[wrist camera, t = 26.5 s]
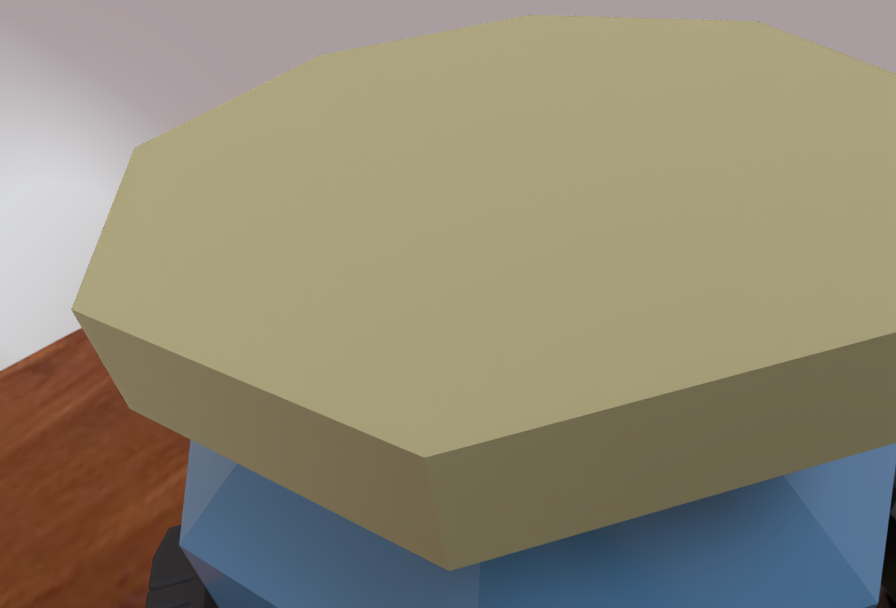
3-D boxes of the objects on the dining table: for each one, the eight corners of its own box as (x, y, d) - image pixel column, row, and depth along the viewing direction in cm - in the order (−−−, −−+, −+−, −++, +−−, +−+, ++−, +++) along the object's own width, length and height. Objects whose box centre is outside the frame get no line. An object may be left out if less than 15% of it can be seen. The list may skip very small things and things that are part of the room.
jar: (844, 759, 15) (1265, 88, 6) (530, 1156, 11) (286, 1054, 2) (556, 496, 21) (536, -18, 12) (295, 690, 17) (-19, 155, 8)
